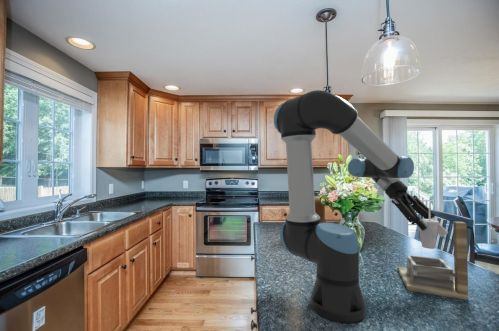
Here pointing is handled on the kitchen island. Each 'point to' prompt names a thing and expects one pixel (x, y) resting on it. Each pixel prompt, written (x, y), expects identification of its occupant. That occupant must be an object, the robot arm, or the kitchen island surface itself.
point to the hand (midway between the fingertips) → (439, 236)
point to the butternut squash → (320, 209)
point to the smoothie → (424, 239)
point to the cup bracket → (440, 270)
